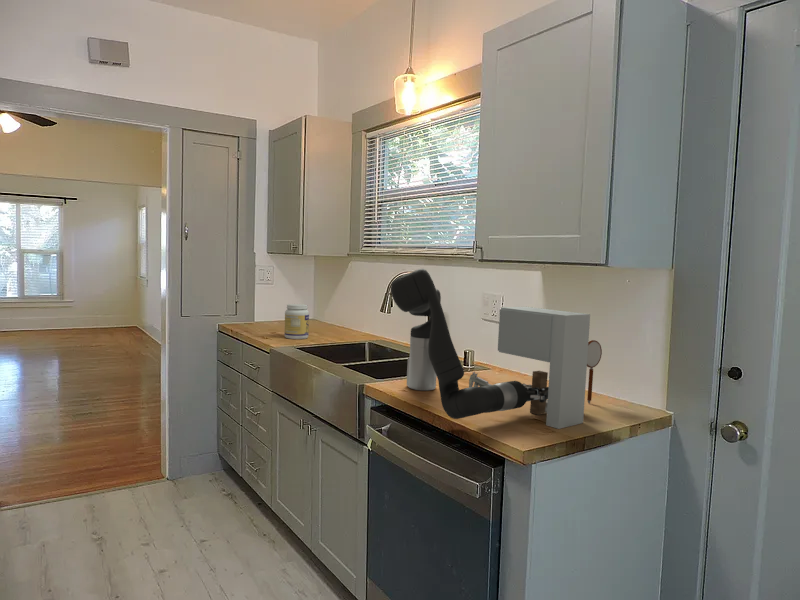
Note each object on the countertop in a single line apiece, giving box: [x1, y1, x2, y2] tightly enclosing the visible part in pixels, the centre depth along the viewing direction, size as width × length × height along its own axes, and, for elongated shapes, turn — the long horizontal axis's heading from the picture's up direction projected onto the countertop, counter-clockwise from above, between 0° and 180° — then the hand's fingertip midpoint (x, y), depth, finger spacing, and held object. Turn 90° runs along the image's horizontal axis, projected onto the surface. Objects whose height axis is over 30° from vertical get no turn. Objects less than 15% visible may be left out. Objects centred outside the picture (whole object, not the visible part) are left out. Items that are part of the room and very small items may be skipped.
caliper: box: [468, 371, 492, 388], centre depth 187 cm, size 20×1×6 cm, turn 43°
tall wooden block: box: [529, 370, 549, 416], centre depth 168 cm, size 3×8×12 cm, turn 128°
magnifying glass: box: [586, 339, 603, 404], centre depth 180 cm, size 9×2×20 cm, turn 125°
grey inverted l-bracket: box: [497, 306, 591, 430], centre depth 163 cm, size 22×12×30 cm, turn 38°
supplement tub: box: [284, 303, 310, 340], centre depth 294 cm, size 12×12×17 cm
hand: (545, 389), depth 168 cm, fingers closed on tall wooden block, 3 cm apart
